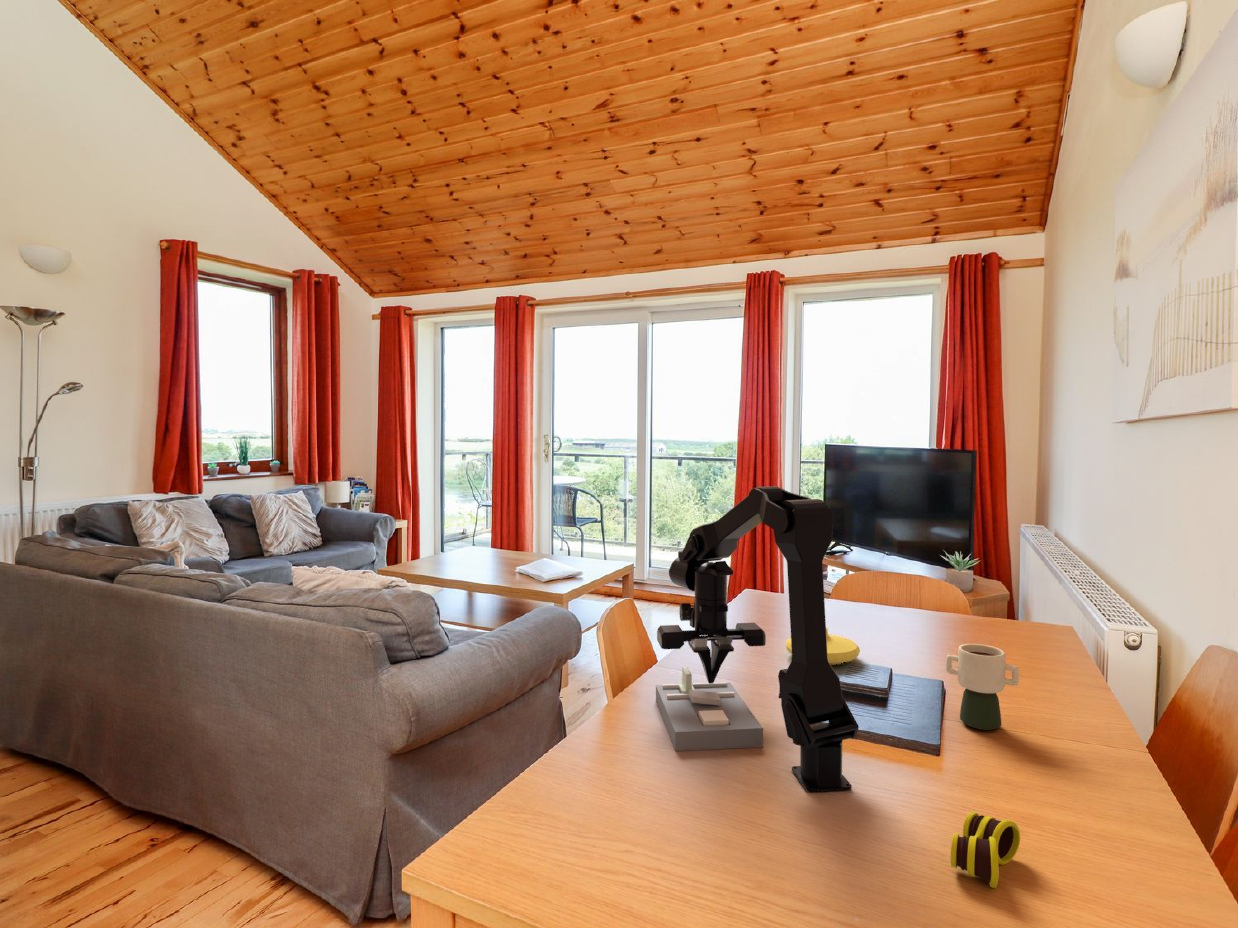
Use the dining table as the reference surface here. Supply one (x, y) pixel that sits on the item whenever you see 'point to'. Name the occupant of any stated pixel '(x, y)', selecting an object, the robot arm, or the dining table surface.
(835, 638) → the yellow flattened dome
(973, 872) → the opera glasses
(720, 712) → the push button
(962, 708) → the character mug
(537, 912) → the dining table surface
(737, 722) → the console
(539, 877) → the dining table surface
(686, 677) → the slide paddle
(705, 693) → the pale grey slab
